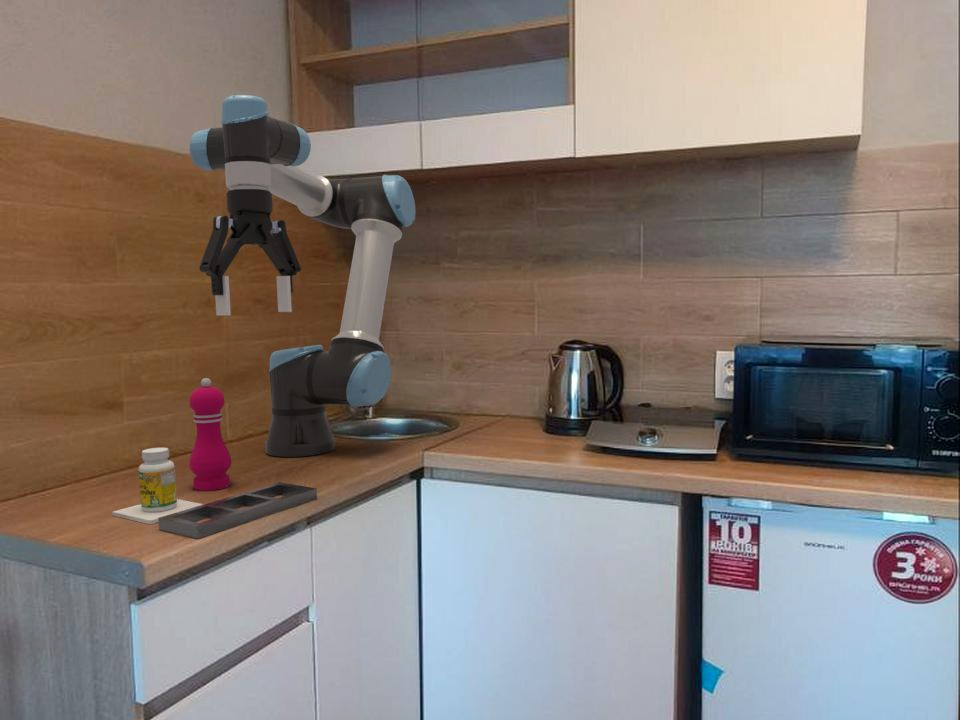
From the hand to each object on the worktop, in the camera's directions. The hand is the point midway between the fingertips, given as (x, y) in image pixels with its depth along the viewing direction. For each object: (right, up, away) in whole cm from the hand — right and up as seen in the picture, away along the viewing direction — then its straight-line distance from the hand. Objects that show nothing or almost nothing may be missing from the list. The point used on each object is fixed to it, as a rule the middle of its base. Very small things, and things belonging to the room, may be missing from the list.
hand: (255, 313), depth 134 cm
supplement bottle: (-13, -32, -10) cm, 36 cm away
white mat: (-13, -33, -10) cm, 36 cm away
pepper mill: (-10, -31, +6) cm, 33 cm away
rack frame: (+1, -33, -11) cm, 34 cm away
